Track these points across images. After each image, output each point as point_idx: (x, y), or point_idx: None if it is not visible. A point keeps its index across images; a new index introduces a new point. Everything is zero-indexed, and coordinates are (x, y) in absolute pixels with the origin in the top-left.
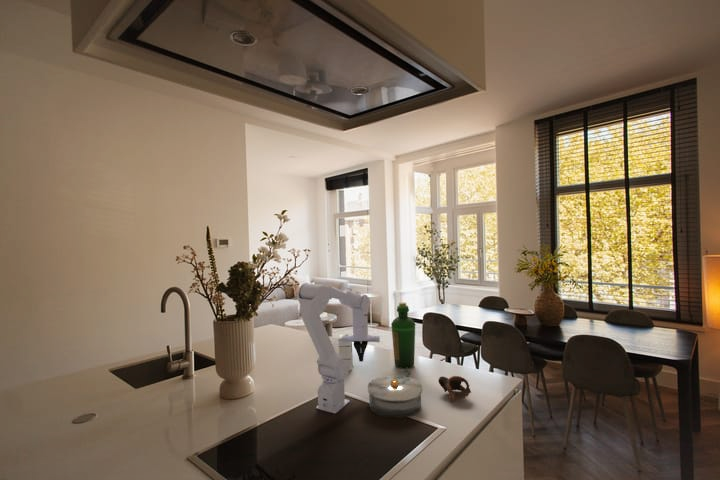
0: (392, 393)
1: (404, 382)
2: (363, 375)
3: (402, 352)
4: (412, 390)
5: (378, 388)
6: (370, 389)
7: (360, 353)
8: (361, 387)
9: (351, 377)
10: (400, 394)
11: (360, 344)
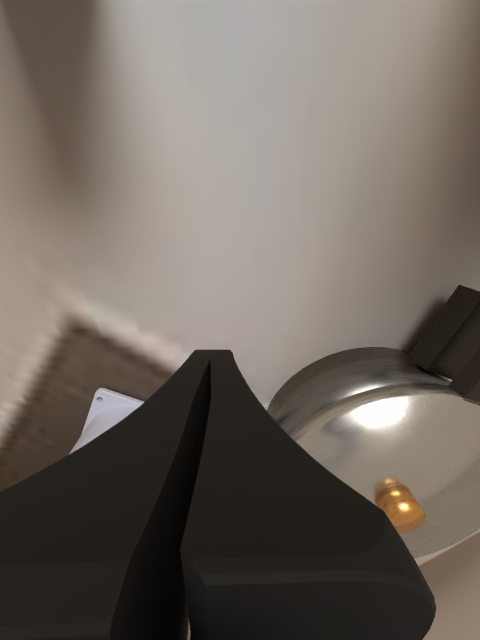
0: None
1: (453, 467)
2: (214, 89)
3: None
4: (454, 523)
5: None
6: None
7: (200, 456)
8: (219, 289)
9: (133, 132)
10: None
11: (170, 580)
